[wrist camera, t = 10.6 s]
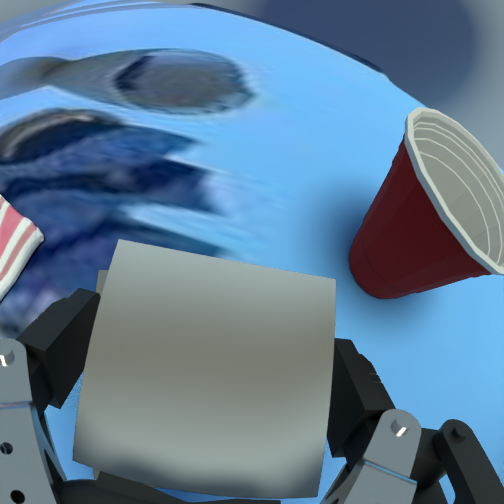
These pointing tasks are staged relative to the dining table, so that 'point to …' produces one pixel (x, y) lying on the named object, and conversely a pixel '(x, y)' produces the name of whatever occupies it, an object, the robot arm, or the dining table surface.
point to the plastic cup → (432, 213)
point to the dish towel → (15, 244)
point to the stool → (208, 375)
